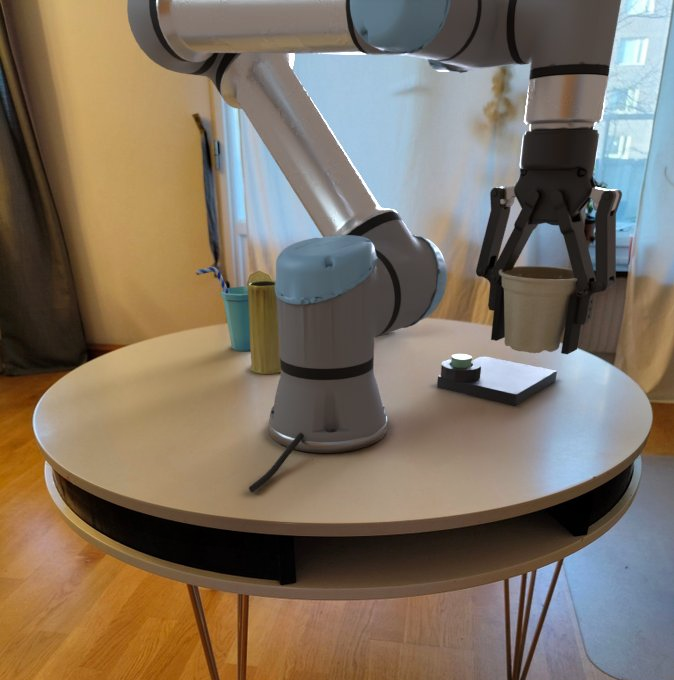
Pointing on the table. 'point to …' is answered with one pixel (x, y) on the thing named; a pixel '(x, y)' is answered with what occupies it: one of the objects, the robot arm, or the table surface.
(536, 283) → the flower pot
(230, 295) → the cup
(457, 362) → the button
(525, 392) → the scale
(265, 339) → the vase
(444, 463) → the table surface
